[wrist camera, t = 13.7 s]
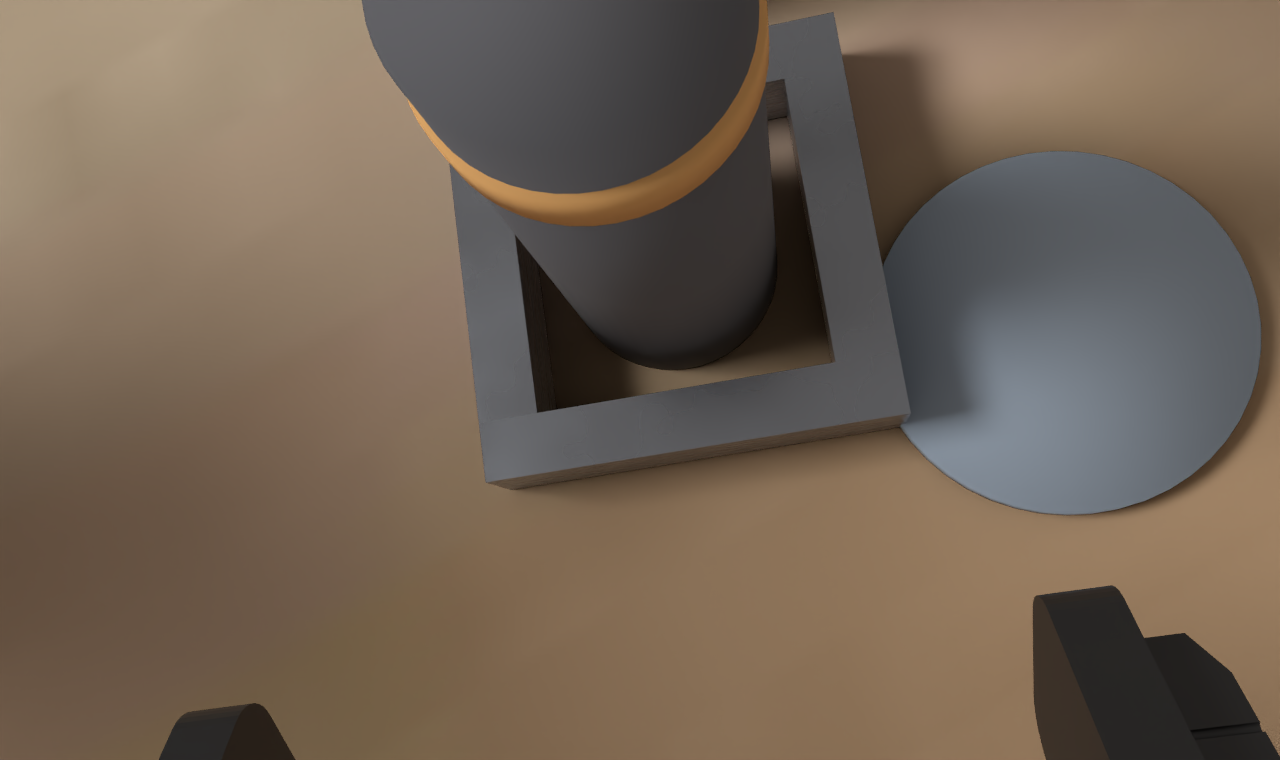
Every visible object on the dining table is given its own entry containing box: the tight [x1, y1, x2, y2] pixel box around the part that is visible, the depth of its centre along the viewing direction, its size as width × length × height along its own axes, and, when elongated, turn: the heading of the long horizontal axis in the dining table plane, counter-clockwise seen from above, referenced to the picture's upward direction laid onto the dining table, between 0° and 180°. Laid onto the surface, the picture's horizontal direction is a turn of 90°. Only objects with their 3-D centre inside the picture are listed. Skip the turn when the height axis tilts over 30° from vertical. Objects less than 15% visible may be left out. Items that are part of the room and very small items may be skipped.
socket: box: [449, 12, 911, 490], centre depth 25 cm, size 9×9×2 cm
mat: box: [883, 151, 1261, 515], centre depth 24 cm, size 8×8×1 cm
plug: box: [362, 0, 777, 370], centre depth 20 cm, size 5×5×13 cm
